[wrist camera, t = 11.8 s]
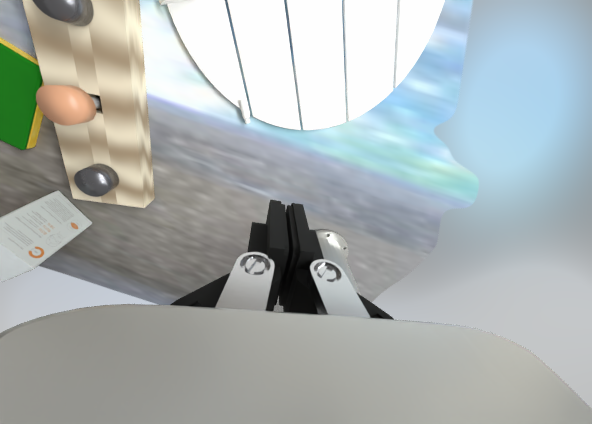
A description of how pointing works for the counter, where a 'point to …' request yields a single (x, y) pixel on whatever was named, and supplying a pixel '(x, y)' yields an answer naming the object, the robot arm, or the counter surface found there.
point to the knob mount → (101, 94)
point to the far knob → (96, 180)
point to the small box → (37, 233)
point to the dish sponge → (19, 97)
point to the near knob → (68, 10)
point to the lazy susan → (305, 53)
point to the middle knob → (67, 104)
